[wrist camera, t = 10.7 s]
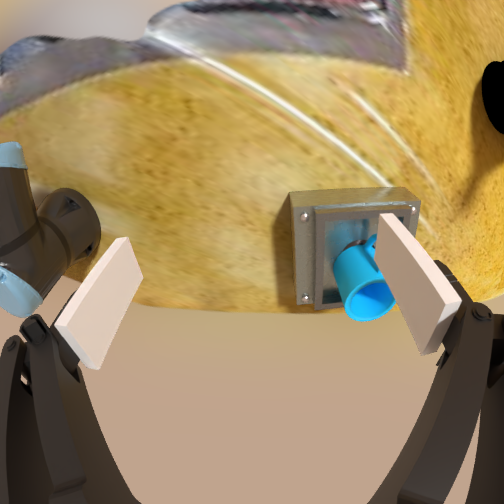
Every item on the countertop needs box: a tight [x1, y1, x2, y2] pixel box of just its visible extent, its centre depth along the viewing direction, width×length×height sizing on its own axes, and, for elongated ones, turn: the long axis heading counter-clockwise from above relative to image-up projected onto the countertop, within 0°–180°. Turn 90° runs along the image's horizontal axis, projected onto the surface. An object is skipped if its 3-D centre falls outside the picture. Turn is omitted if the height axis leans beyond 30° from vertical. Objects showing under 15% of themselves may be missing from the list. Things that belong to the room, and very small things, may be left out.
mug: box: [333, 234, 396, 321], centre depth 37 cm, size 12×8×8 cm
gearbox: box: [289, 187, 421, 310], centre depth 42 cm, size 23×18×8 cm
